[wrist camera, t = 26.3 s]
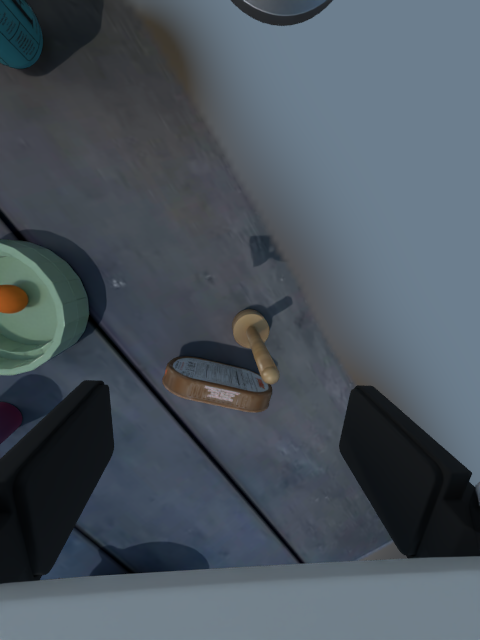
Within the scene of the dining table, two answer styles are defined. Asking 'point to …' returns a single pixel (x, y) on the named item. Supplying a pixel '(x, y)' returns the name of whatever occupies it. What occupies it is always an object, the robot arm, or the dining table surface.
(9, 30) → the beverage bottle
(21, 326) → the bowl
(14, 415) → the cup
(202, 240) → the dining table surface
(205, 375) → the tin
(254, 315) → the wooden pestle
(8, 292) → the ball
